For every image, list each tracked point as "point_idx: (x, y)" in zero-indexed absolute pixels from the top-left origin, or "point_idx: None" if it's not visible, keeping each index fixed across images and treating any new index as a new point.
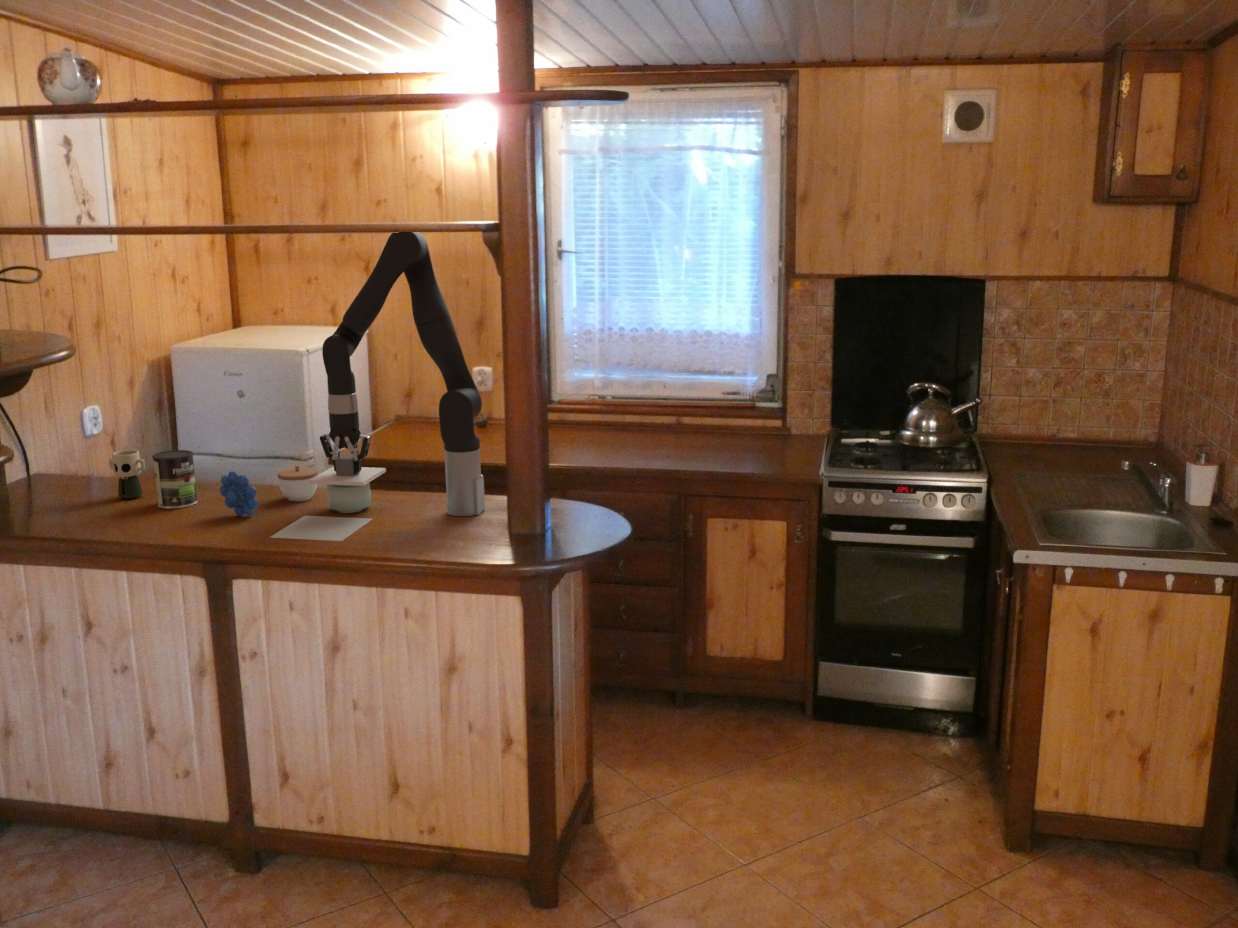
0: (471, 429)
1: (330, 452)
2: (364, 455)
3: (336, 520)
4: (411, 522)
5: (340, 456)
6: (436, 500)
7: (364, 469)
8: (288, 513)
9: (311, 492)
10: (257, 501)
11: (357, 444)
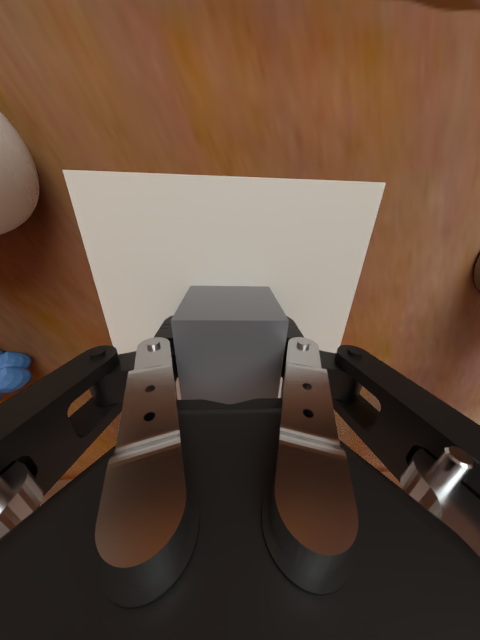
0: None
1: (108, 394)
2: (359, 400)
3: None
4: (386, 343)
5: (176, 352)
6: (462, 131)
7: (276, 232)
8: (93, 322)
9: (37, 187)
10: (21, 382)
11: (328, 401)
